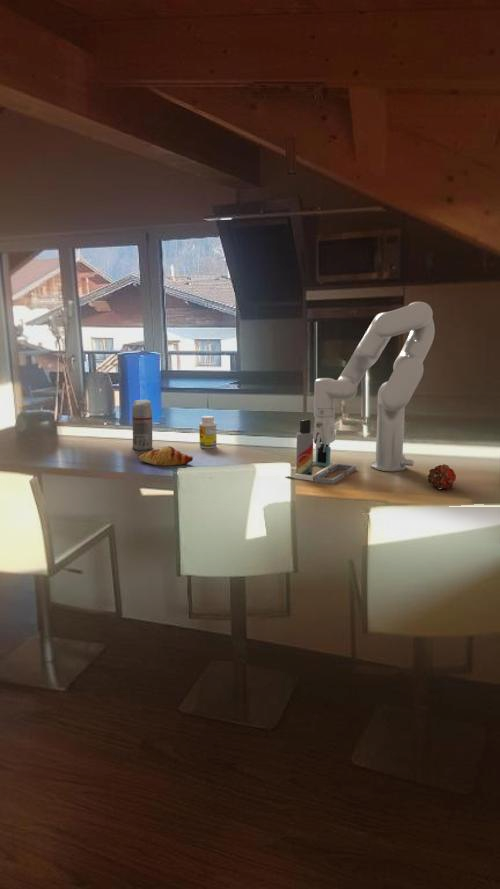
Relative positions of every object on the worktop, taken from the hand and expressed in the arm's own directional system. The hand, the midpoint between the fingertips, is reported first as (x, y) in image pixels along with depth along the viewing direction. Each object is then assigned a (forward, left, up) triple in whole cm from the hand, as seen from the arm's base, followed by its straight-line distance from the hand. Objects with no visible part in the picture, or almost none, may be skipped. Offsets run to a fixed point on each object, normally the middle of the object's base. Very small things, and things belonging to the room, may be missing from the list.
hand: (323, 461), depth 247 cm
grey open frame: (-9, +11, -2) cm, 14 cm away
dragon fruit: (-45, +9, -2) cm, 46 cm away
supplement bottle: (+54, -7, -2) cm, 55 cm away
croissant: (+53, +24, -2) cm, 58 cm away
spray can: (+76, +8, -2) cm, 76 cm away
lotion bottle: (0, +17, -2) cm, 17 cm away
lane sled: (0, +10, -2) cm, 11 cm away
